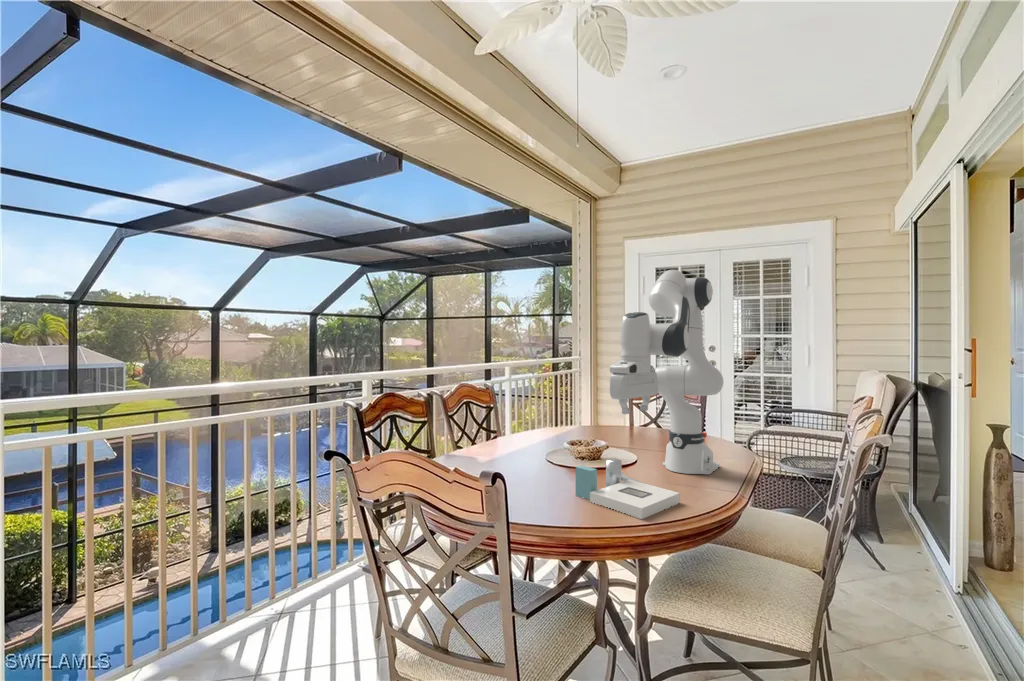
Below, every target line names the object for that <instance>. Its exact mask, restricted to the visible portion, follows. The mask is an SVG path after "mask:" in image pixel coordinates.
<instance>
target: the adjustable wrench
mask: <svg viewBox="0 0 1024 681" xmlns="http://www.w3.org/2000/svg"><path fill="white" fill-rule="evenodd" d="M627 480H633V481H636V482H640V483H644V484H646V483H645V482H642V481H640V480H637V479H636V478H633V477H630V476H627V475H626V474H624V472H623V471H622V482H624V481H627Z"/></svg>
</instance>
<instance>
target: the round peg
mask: <svg viewBox="0 0 1024 681" xmlns="http://www.w3.org/2000/svg"><path fill="white" fill-rule="evenodd" d="M622 465H623V464H622V460H621V459H618V458H607V459H606V460H605V487H608V486H611V485H614V484H617V483H620V482H623V480H622V472H623V471H622V469H623V468H622V467H623V466H622Z"/></svg>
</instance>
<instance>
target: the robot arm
mask: <svg viewBox="0 0 1024 681" xmlns="http://www.w3.org/2000/svg"><path fill="white" fill-rule="evenodd" d="M713 289H714V288H713V286H712V283H711V281H710V280H709V279H708V278H706V277H699V276H698V277H690V278H689V277H686V276H685V274H684V273H683V272H681V271H680V270H678V269H669V270H666V271H664V272H663V273H661V275H660V276H659V277H658V278H657V279H656V281H655V282H654V283H653V285H652V288H651V289H650V292H649V295H648V304H649V306H650V307H651V309H652V310H653V311H654V313H656V314H658V315H659V316H662V317H668V318H672V322H670V323H653V324H652V323H651V322H650V316H649V313H647V312H643V311H642V312H641V311H639V312H638V311H636V312H629V313H625V314H624V315H623V316H622V319H621V324H620V325H621V326H620V338H619V340H620V346H621V351H620V357H619V360H617V361H616V362H614V363H613V364H611V365H609V372H610V373H611V374H610V378H609V395H610V398H611V399H612V400H616V401H617V400H618V401H619V402H618V403H619V405H620V408H621V413H622V415H629V414H630V412H631V408H630V407H629V406H628V403H629V399H637V398H641V399H642V403H641V404H640V406H639V407H640V411H642V412H647V411H648V410H649V404H650V402H651V396H657V395H658V394H659V395H660V396H661V397H662V399H663V400H664V401H665V403H666V404H667V408H668V412H669V420H670V421H669V422H670V423H669V424H670V425H669V426H670V427H669V428H670V430H668V431H669V432H668V441H669V442H668V443H667V444H666V449H665V461H662V465H663V466H665V469H667V470H668V471H671V472H675V473H680V474H687V475H711V474H712V473H714V472H715V471H716V470H717V469H719V468H720V466H721V465H720V463H718V462H715V461H714V453H713V450H712V449H711V448H710V447H709V446H708V445H707V444H706V443H705V438H707V436H708V433H707V431H705V432H704V431H702V418H703V416H702V415H703V414H702V413H701V410H700V409H699V408H698V407H696V406H695V405H693V404H691V403H689V402H688V401H687V400H686V399H685V396H694V397H695V396H697V397H699V396H700V397H708V396H713V395H718V394H719V393H720V392H721V391H722V390H723V389H722V388H723V386H724V377H723V375H722V373H721V371H720V370H719V369H718V368H716V367H715V366H714V365H713V364H712V363H711V362H710V360H708V357H706V354H705V351H704V344H703V342H704V341H703V337H704V336H703V335H704V334H703V332H704V330H703V328H704V327H703V326H704V325H703V315H702V311H704V310H705V308H706V307H707V306H708V305H709V304H710V303H711V301H712V298H713V295H714V290H713ZM653 355H654V356H656V355H657V356H669V357H676V358H677V357H681V358H683V359H685V360H686V361H687V362H688V365H664V366H657V367H656V368H655V367H654V366H653V365H651V363H652V362H651V357H652V356H653ZM718 467H719V468H718ZM713 471H714V472H713Z"/></svg>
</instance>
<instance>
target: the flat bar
mask: <svg viewBox="0 0 1024 681" xmlns="http://www.w3.org/2000/svg"><path fill="white" fill-rule="evenodd" d="M596 490H598V469H597V468H594V467H590V466H586V465H582V464H581V465H577V466H575V496H576V495H577V496H576V497H578V496H580V497H579V498H581V497H584V498H587V499H590V492H593V491H596ZM584 498H583V499H584ZM587 499H586V500H587Z"/></svg>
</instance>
